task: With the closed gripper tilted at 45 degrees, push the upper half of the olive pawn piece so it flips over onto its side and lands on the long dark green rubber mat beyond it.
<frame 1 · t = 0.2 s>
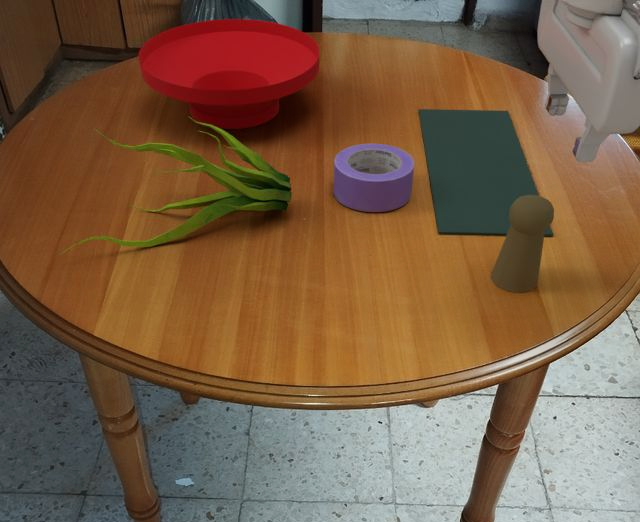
hand: (567, 134, 67), 22 cm above the table, tool pointing down, fingers open, 8 cm apart
mat: (477, 166, 108), on the table
decorative plant: (188, 234, 95), on the table
bowl: (234, 111, 121), on the table
olive pawn piece: (514, 279, 88), on the table
tape roll: (372, 194, 102), on the table
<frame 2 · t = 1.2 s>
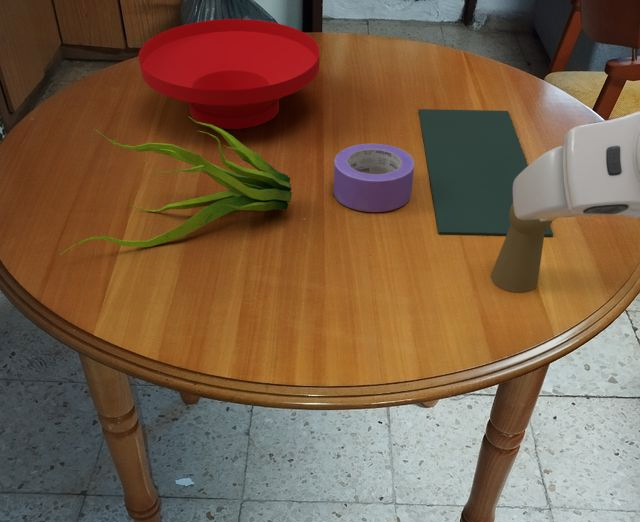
hand: (588, 210, 67), 17 cm above the table, tool tilted 45°, fingers open, 8 cm apart
nothing on the table moved.
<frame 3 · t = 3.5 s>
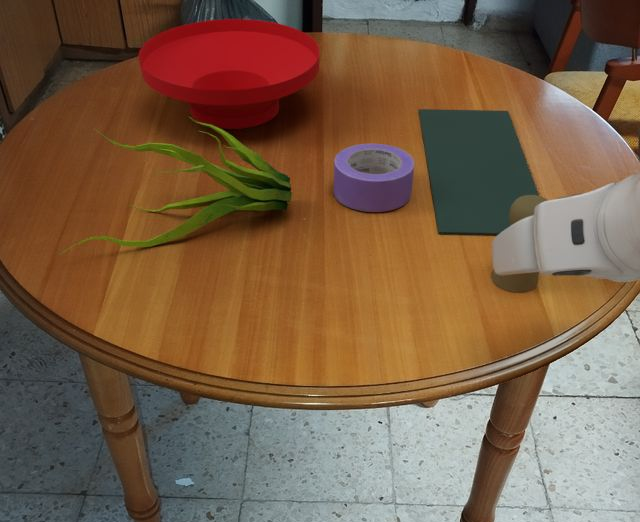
hand: (561, 260, 75), 9 cm above the table, tool tilted 45°, fingers closed
nothing on the table moved.
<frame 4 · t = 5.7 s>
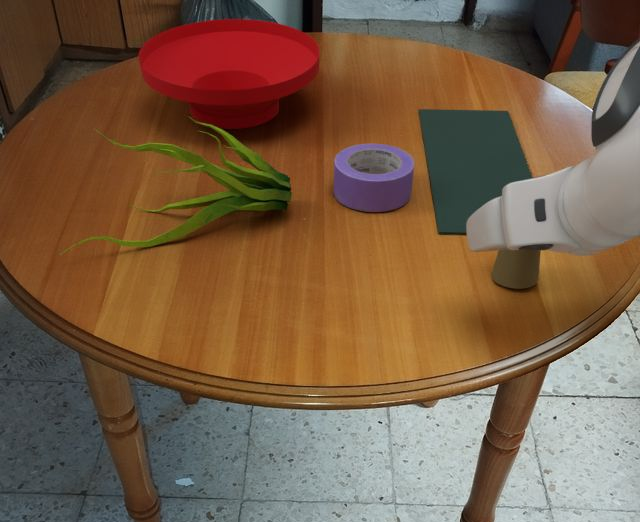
hand: (532, 240, 82), 7 cm above the table, tool tilted 45°, fingers closed
olive pawn piece: (514, 277, 88), on the table, touching gripper
everything else where it was.
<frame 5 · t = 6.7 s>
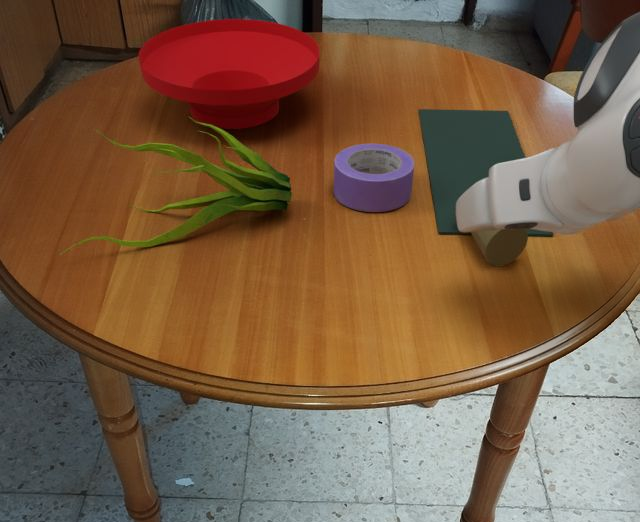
hand: (520, 222, 84), 7 cm above the table, tool tilted 45°, fingers closed
olive pawn piece: (507, 247, 87), point 3 cm above the table, touching mat
everything else where it was.
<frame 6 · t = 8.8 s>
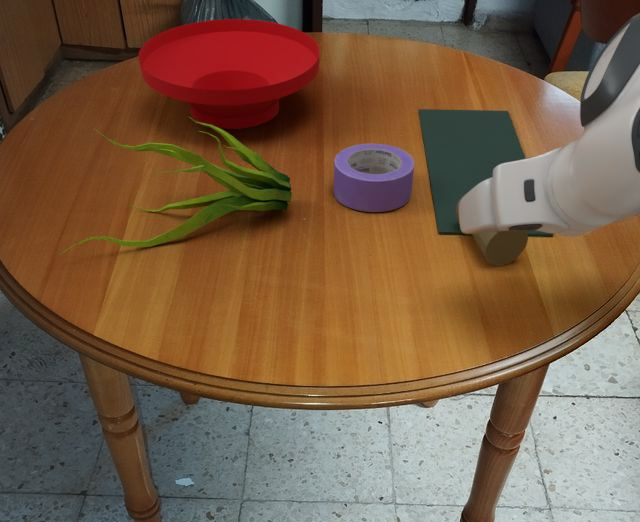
hand: (524, 223, 83), 7 cm above the table, tool tilted 45°, fingers closed
nothing on the table moved.
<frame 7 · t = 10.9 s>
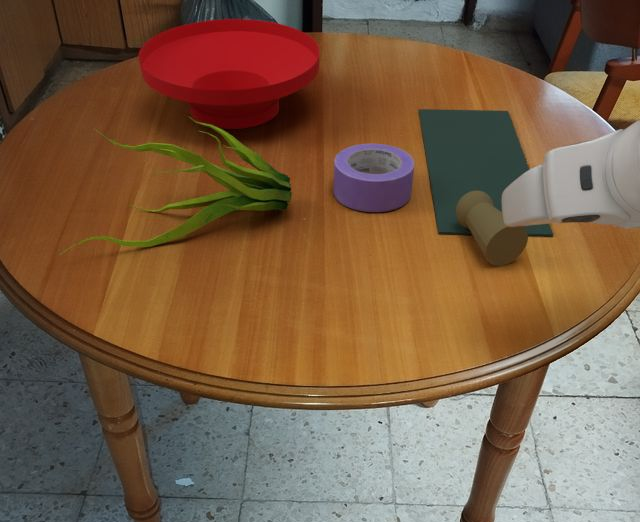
hand: (569, 215, 76), 12 cm above the table, tool tilted 45°, fingers closed
nothing on the table moved.
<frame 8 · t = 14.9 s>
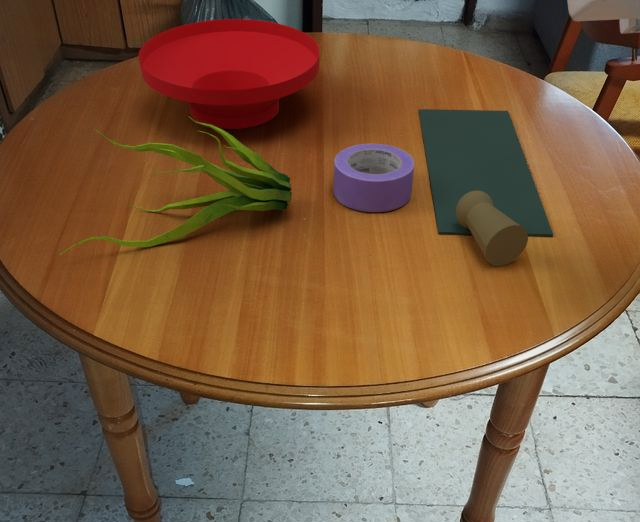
hand: (632, 26, 73), 27 cm above the table, tool tilted 45°, fingers closed
nothing on the table moved.
at the end: olive pawn piece tilted 90°; olive pawn piece touching mat, table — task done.
